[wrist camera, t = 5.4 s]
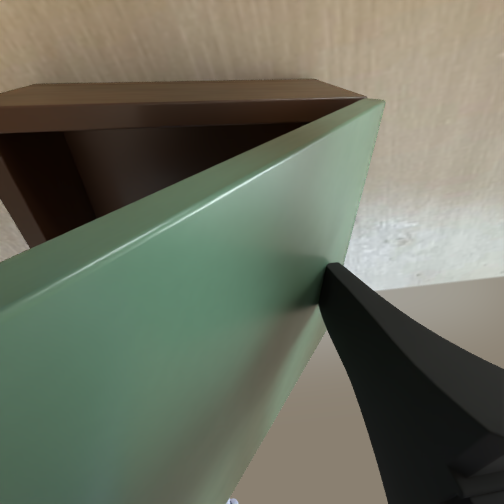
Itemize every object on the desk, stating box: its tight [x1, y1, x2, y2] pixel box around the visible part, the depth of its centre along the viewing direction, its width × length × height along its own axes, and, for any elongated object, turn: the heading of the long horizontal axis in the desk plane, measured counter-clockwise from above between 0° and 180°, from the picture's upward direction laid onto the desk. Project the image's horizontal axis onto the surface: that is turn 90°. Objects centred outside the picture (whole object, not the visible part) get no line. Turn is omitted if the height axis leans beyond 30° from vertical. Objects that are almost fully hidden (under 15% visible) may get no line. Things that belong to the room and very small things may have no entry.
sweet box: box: [0, 79, 367, 249], centre depth 15 cm, size 14×13×6 cm
